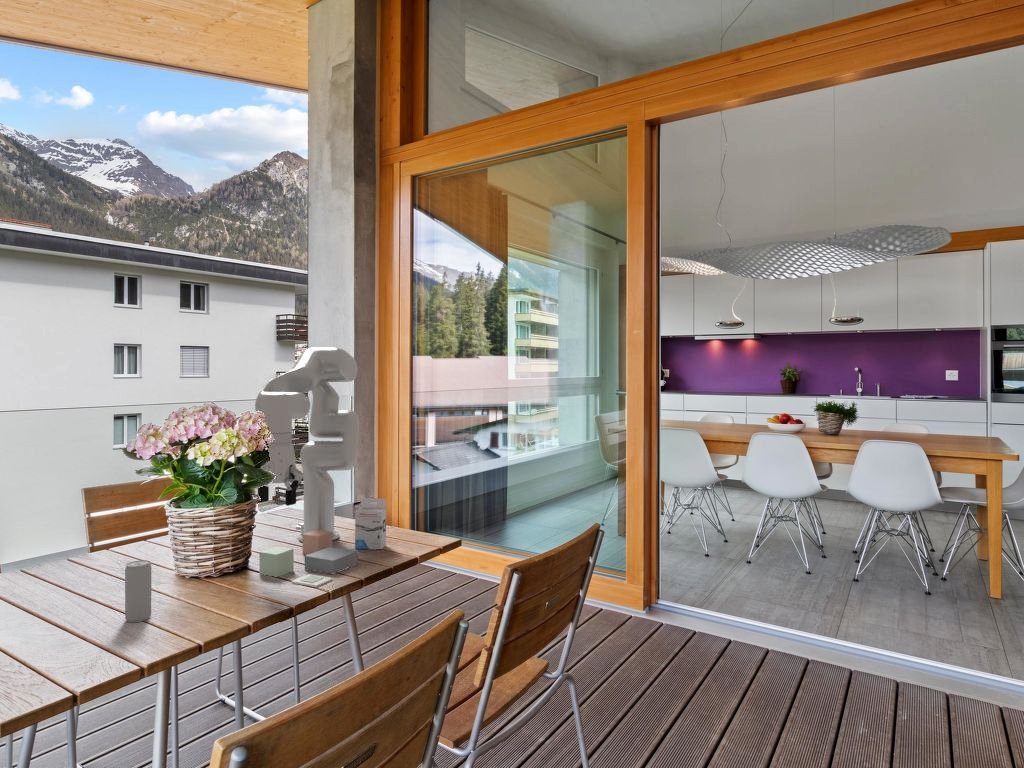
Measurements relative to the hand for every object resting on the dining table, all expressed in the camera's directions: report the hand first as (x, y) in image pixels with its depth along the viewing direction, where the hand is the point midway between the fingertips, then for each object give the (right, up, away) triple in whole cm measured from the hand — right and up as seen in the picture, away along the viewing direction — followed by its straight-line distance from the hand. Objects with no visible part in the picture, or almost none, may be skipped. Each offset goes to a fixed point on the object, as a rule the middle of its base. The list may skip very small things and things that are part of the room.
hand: (276, 503), depth 161 cm
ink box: (+19, -19, +24) cm, 36 cm away
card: (+12, -19, -7) cm, 23 cm away
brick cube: (+5, -19, +19) cm, 27 cm away
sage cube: (0, -19, 0) cm, 19 cm away
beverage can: (-17, -19, -32) cm, 41 cm away
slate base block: (+13, -19, +5) cm, 24 cm away
